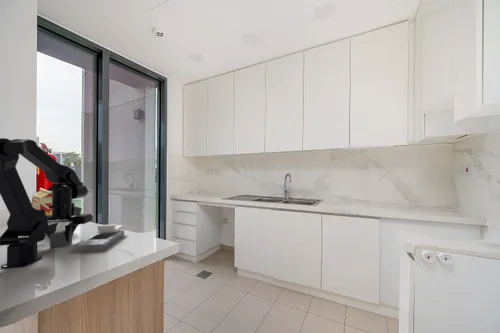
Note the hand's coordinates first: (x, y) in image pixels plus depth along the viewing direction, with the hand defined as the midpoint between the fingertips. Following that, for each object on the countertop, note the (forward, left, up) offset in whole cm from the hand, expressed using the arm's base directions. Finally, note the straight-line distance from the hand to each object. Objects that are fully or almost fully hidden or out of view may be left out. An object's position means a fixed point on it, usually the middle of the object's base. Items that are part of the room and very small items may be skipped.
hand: (61, 242), depth 79 cm
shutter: (+7, -14, +2) cm, 16 cm away
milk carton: (+23, +22, -1) cm, 32 cm away
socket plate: (0, -14, -1) cm, 14 cm away
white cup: (+15, +9, -1) cm, 18 cm away
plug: (0, 0, -1) cm, 1 cm away
